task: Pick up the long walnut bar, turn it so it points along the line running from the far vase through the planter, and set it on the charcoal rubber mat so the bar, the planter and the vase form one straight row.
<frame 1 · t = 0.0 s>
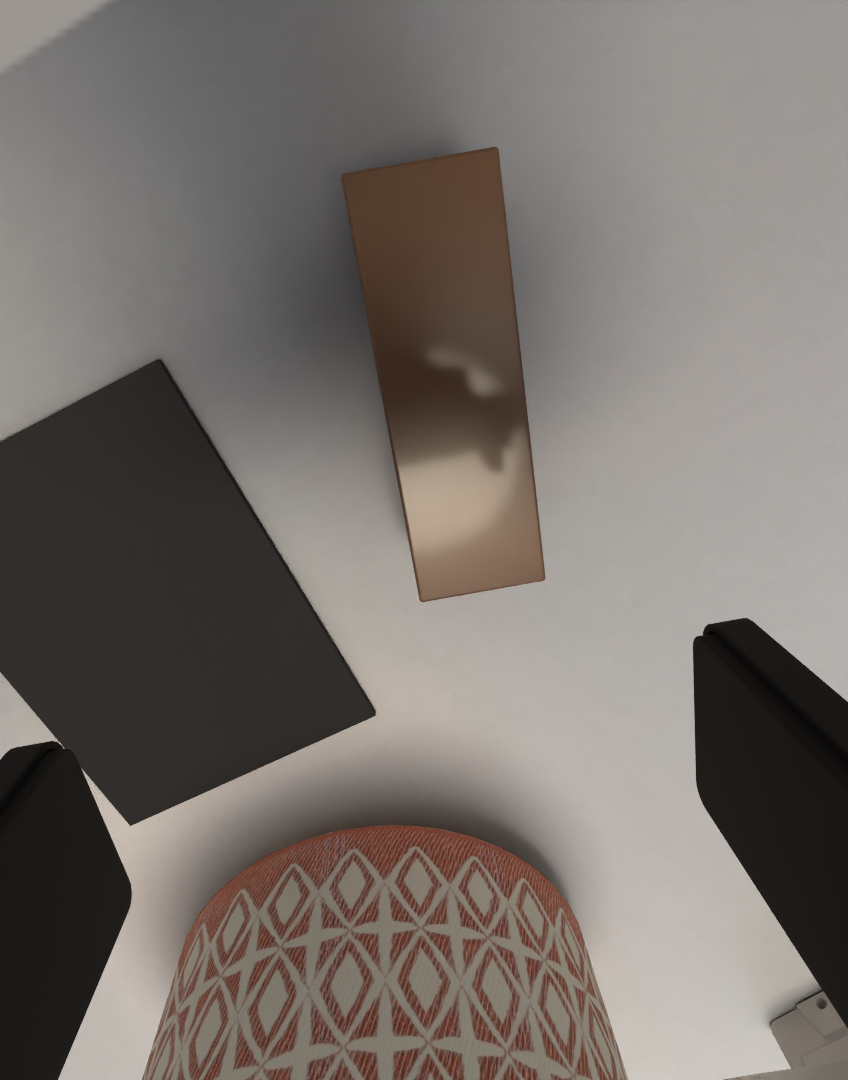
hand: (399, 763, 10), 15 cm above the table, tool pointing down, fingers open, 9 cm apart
line mat: (144, 619, 25), on the table
bar: (440, 381, 23), on the table
planter: (385, 950, 32), on the table
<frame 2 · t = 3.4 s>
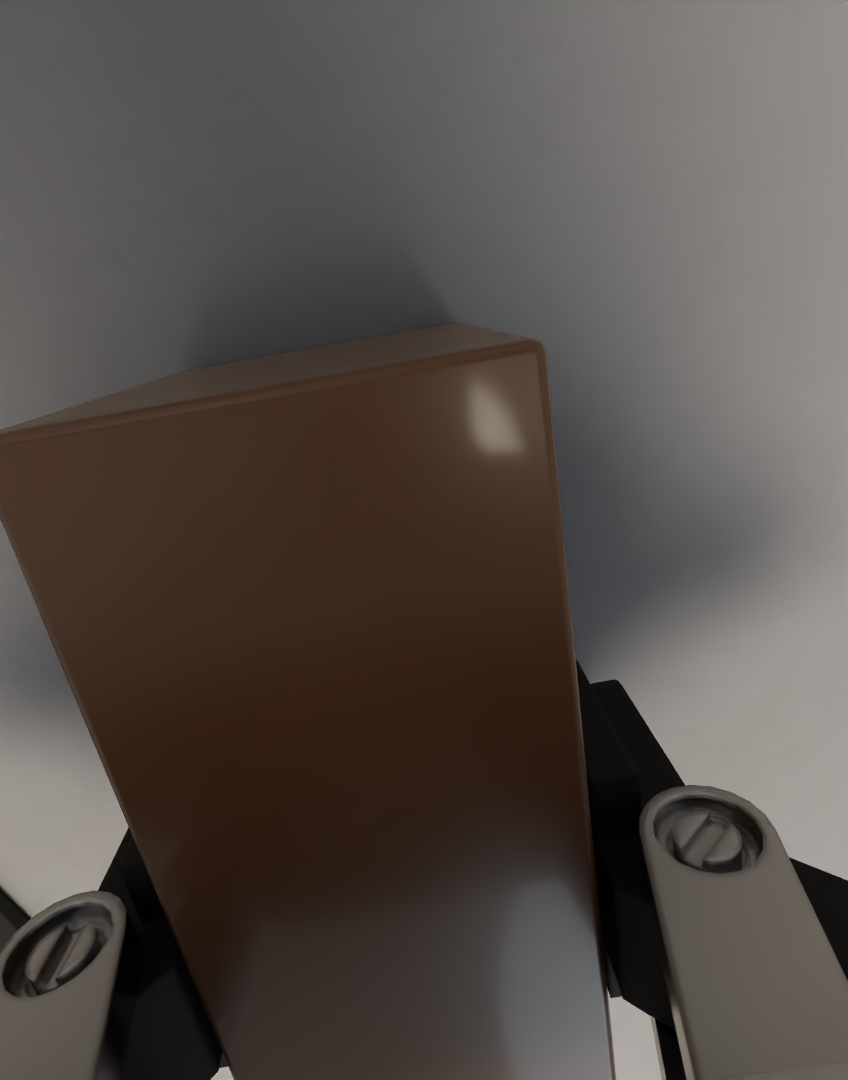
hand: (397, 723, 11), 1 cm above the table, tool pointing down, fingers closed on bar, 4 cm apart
bar: (397, 704, 11), on the table, touching gripper
when the fingers open (1 cm above the table, at t = 10.9 s): bar stays where it is, resting on line mat.
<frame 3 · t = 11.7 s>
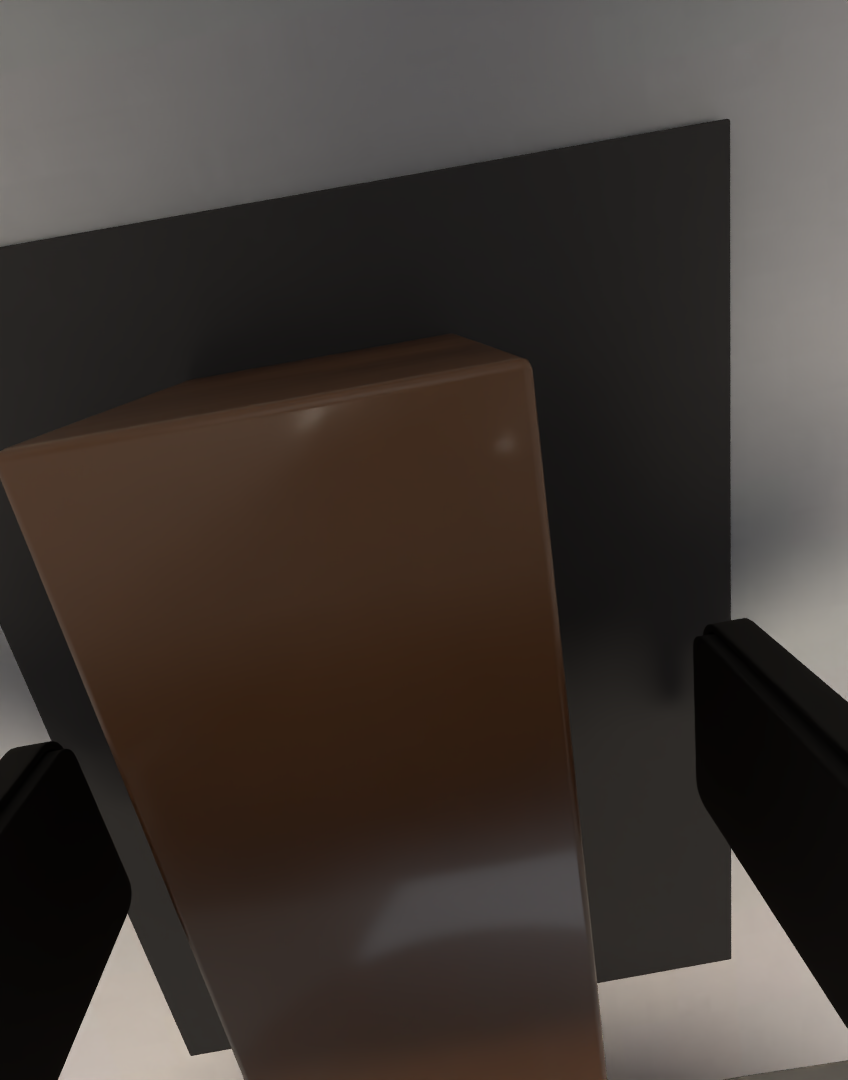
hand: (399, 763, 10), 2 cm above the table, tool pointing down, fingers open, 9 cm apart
line mat: (395, 690, 12), on the table
bar: (395, 704, 11), resting on line mat
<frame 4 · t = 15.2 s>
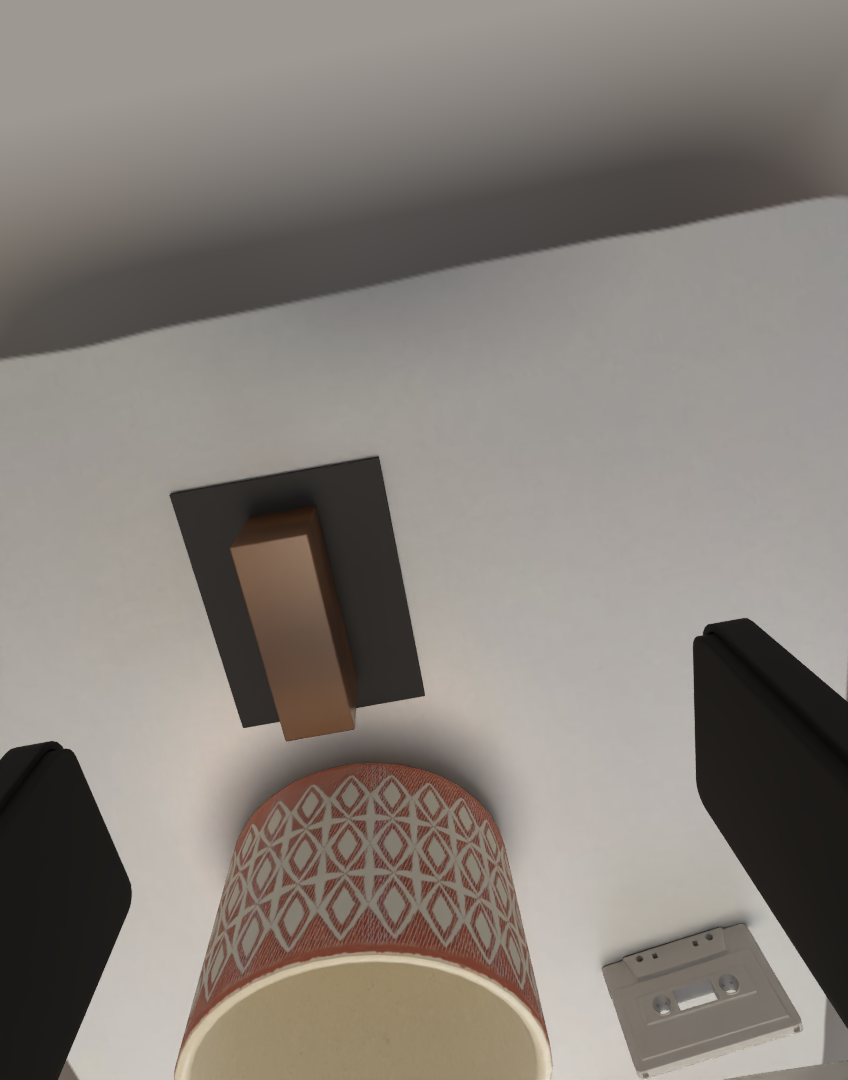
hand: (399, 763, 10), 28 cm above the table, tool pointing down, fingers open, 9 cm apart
cassette: (672, 946, 52), on the table
line mat: (306, 600, 40), on the table
bar: (306, 603, 39), resting on line mat
planter: (371, 855, 47), on the table
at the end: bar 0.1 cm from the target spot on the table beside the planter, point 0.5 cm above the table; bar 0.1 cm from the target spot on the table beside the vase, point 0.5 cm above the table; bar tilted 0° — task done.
